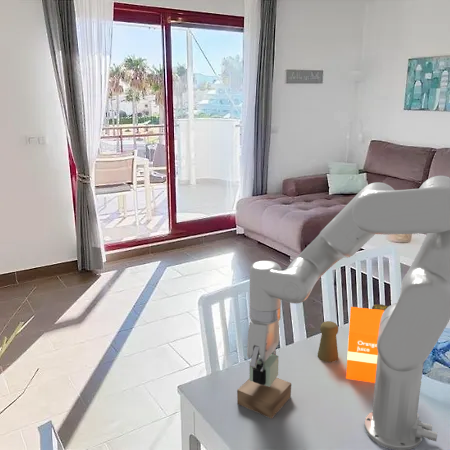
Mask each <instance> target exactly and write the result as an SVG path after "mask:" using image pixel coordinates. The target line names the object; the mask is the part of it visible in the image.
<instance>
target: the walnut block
mask: <svg viewBox="0 0 450 450" xmlns="http://www.w3.org/2000/svg"><path fill="white" fill-rule="evenodd" d="M236 392H237V393H236V395H237V397H236V398H237V399H236V401H237V403H236V404H237V405H239V406H242V407H244V408H246V409H248V410H250V411H252V412H255V413H257V414H259V415H262V416H264V417H267V418H269V419H273V418H274V417H275V416H276V415H277V413H279V411H280V410H281V409H282V408H283V407H284V406H285V405H286V403H288V401H289V400H290V398H292V396H291V395H292V383H291V382H290V381H287V380H284V379H281V378H279V377H276V379H275V380H274V381H273V383H272V384H271V386H270V387H269V386H266V385H261V384H258V383H255V382H252V381H250V377H248V379H247V380H246V381H244V383H243V384H242V385H240V387H238V388H237V390H236Z"/></svg>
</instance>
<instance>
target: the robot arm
mask: <svg viewBox="0 0 450 450" xmlns="http://www.w3.org/2000/svg"><path fill="white" fill-rule="evenodd" d="M412 234H414V235H417V234H426V235H425V236H424V240H423V241H422V243H421V246H420V248H419V250H418V252H417V254H416V256H415V257H414V259H413V261H412V263H411V264H410V267H409V269H408V270H407V272H406V273H405V275H404V276H403V278H402V281H401V285H400V293H399V294H400V295H399V297H398V300H397V302H395V303H392V304H391V305H389V306H388V308H387V309H386V310H385V311H384V312H383V314H382V316H381V319H380V325H379V331H378V338H377V350H378V355H377V367H376V377H375V383H374V390H373V391H374V393H373V400H372V402H373V403H372V411H371V412H369V413H368V414H367V415H366V416H365V418H364V430H365V431H366V434H367V435H368V437H369V438H370V439H371V440H373V442H375V443H376V444H377V445H380V446H381V447H384V448H387V449H390V450H413V449H415V448H417V447H418V446H419V445H420V444H421V443H422V440H423V438H425V439H427V440H429V441H433V442H438V441H437V440H438V439H437V438H438V432H437V431H433V424H431V423H430V424H429V423H426V422H422V420H419V418H420V413H418V410H419V402H420V395H421V385H422V384H421V383H422V378H423V371H424V370H423V369H424V362H426V360H428V358H429V356H430V355H431V352H432V351H433V349H434V348H435V346H436V345H437V342H438V341H439V340H440V338H441V337H442V335H443V333H444V331H445V329H446V327H447V325H448V323H449V322H450V177H449V176H447V175H435V176H432V177H429V178H428V179H426V180H424V181H423V183H422V184H421V185H420V186H419V188H411V189H395V188H393V187H392V186H391V185H389V184H387V183H384V182H379V181H378V182H372V183H369V184H367V185H366V186H364V187H363V188H362V189H361V190H359V192H358V193H356V195H354V197H353V198H352V199H351V200H350V201H349V202H348V203H347V204H346V205H345V206H344V207H343V208H342V209H341V210H340V211H339V213H337V214H336V215H335V216H334V218H332V220H331V221H329V222H328V223H327V224H326V226H324V228H322V229H321V230H320V231H319V234H318V235H317V236H316V237H315V238H314V239H313V240H311V242H310V243H309V244H307V245H306V247H305V248H304V249H303V250H302V251H301V252H300V253H299V254H298V255H297V256H296V257H295V258H294V259H293V260H292V261H291V262H290V264H289V265H288V267H287V268H286V269H284V270H282V267H281V265H280V264H278V263H277V262H276V261H273V260H259V261H255V262H253V263H252V264H251V266H250V268H249V325H248V331H247V332H248V334H247V345H246V346H247V348H246V356H247V358H249V359H250V360H251V362H250V361H249V368H250V367H252V369H253V382H255V383H258V384H261V385H265V383H266V370H264V368H265V361H266V360H267V359H268V358H269V356H270V355H271V354H273V355H277V351H276V348H277V347H278V346H279V342H280V320H281V319H282V318H281V314H282V313H281V311H282V301H284V302H286V303H290V304H295V305H297V304H301V303H304V302H306V300H307V299H308V298H309V296H310V295H311V293H312V290H314V287H315V285H316V283H317V282H318V280H319V279H320V278H321V277H322V276H324V275H325V273H326V272H328V271H329V270H330V268H332V267H333V266H334V265H335V264H336V263H338V262H339V261H340V260H343V259H344V258H345V259H346V258H347V259H348V258H351V257H352V256H354V255H356V253H357V252H358V251H359V250H360V249H362V248H363V247H364V246H365V245H366V244H367V243H368V242H369V241H370V240H371V239H372V238H373V237H374V236H375V235H390V236H391V235H412ZM259 355H260V357H259ZM257 361H262V363H261V365H259V364H258V363H257Z"/></svg>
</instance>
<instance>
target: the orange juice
mask: <svg viewBox="0 0 450 450" xmlns="http://www.w3.org/2000/svg"><path fill="white" fill-rule="evenodd" d="M383 312H384V310H377V309H372V308H369V307H368V308H367V307H359V306H358V307H357V306H350V313H349V314H350V315H349V327H348V337H347V338H348V339H347V353H346V354H347V356H346V357H347V359H346V360H347V361H346V375H345V379H346V380H351V381H352V380H353V381H360V382H366V383H371V384H375V377H376V367H377V355H378V350H377V338H378V331H379V325H380V319H381V316H382V314H383Z"/></svg>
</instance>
